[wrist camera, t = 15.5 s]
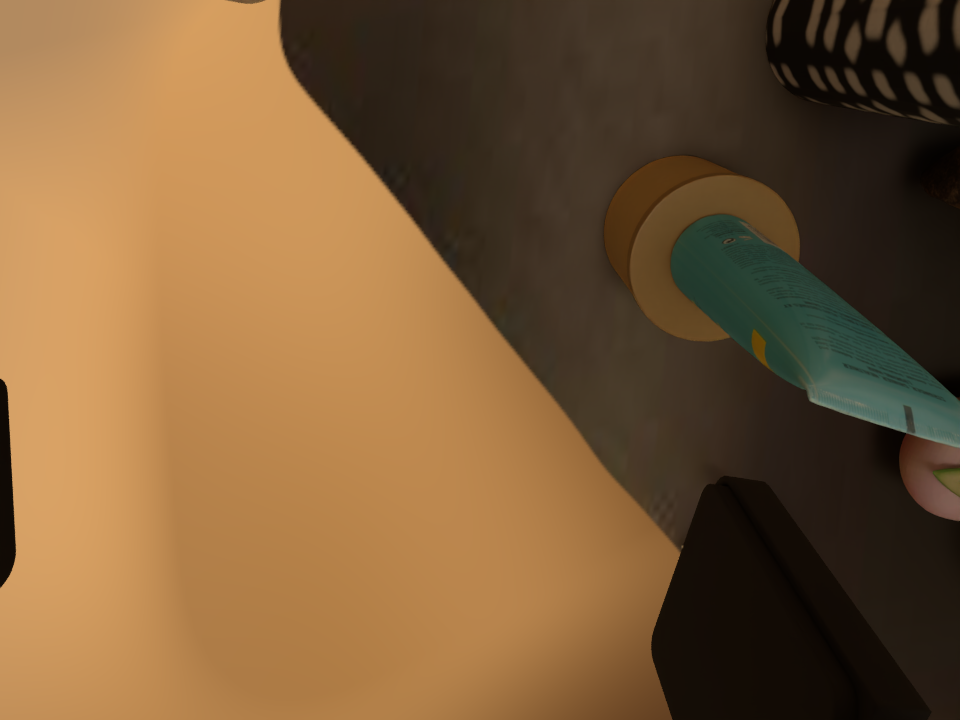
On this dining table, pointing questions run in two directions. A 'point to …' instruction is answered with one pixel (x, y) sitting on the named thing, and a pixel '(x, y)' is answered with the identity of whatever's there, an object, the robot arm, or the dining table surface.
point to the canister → (667, 214)
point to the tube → (807, 330)
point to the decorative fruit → (932, 475)
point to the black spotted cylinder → (870, 55)
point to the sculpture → (944, 178)
